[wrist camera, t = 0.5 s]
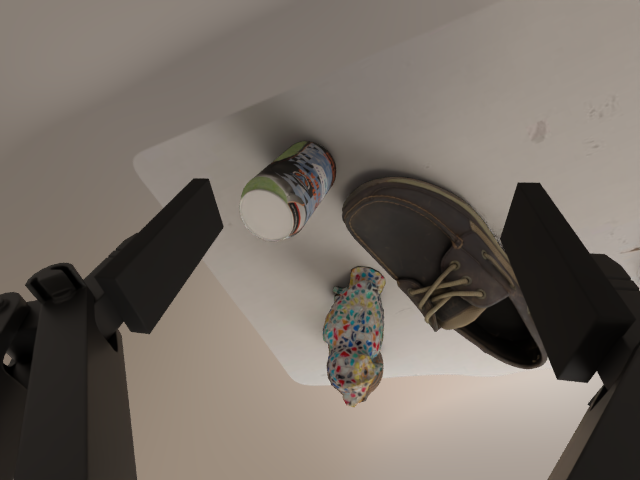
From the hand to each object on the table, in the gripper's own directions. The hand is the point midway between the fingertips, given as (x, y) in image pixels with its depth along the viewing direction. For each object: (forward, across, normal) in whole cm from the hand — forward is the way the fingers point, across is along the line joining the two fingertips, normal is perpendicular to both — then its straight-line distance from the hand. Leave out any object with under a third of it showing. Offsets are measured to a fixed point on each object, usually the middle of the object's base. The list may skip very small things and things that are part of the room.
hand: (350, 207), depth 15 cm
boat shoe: (+21, +10, -18) cm, 29 cm away
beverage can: (+21, -7, -7) cm, 23 cm away
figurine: (+21, -1, -27) cm, 34 cm away
